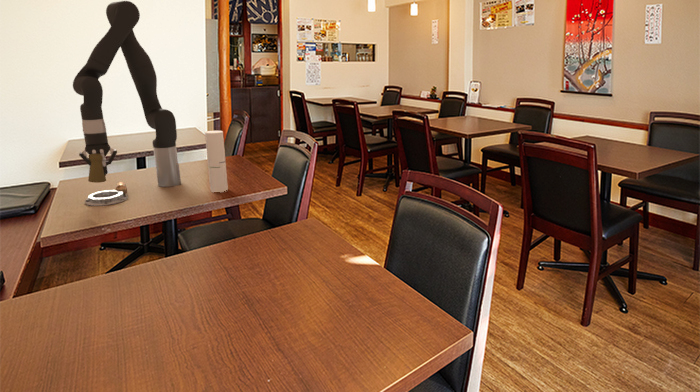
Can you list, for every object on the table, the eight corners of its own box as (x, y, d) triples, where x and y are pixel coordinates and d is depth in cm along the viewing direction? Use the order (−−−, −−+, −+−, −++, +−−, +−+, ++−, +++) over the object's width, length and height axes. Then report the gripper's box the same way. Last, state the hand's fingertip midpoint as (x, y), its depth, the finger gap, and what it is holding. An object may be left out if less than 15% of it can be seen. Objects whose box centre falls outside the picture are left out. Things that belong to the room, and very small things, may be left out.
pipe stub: (116, 190, 185) (114, 181, 183) (127, 189, 186) (125, 179, 185) (116, 195, 178) (114, 185, 176) (127, 194, 180) (126, 184, 178)
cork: (98, 183, 165) (98, 154, 163) (84, 181, 166) (83, 152, 163) (109, 180, 171) (109, 152, 168) (95, 178, 172) (94, 150, 169)
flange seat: (127, 192, 182) (126, 187, 181) (128, 202, 169) (127, 197, 168) (86, 197, 175) (84, 191, 174) (83, 208, 162) (82, 202, 162)
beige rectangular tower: (231, 190, 186) (226, 131, 178) (216, 193, 181) (210, 133, 173) (222, 186, 190) (217, 129, 183) (207, 190, 185) (201, 131, 178)
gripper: (115, 128, 170) (121, 171, 175) (74, 130, 164) (82, 175, 169) (115, 131, 164) (122, 175, 169) (73, 133, 158) (81, 179, 163)
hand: (102, 175), depth 169 cm, fingers closed on cork, 1 cm apart
